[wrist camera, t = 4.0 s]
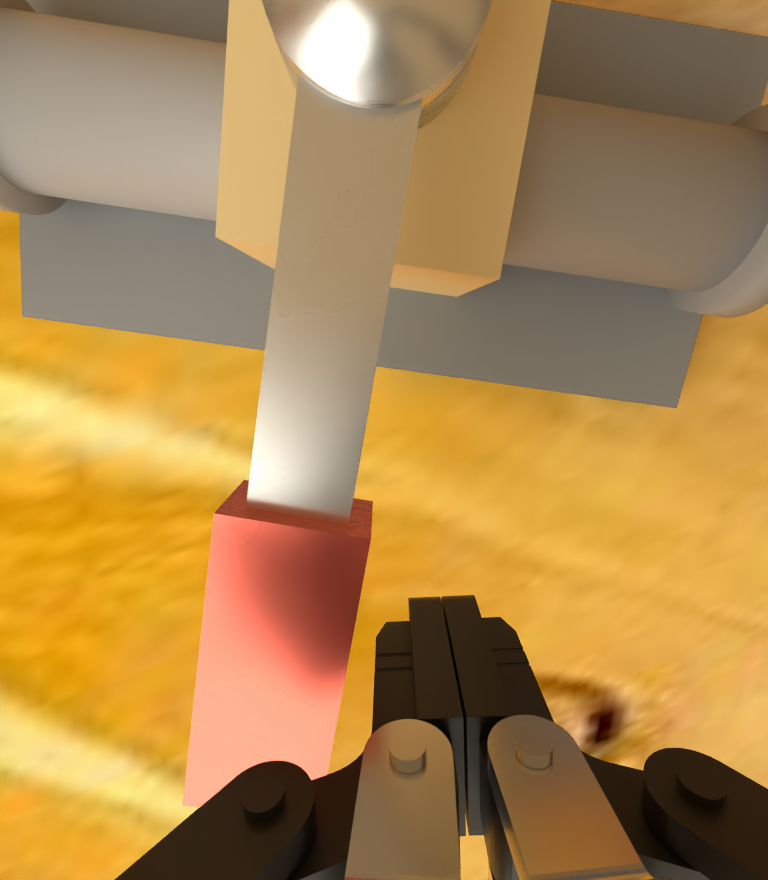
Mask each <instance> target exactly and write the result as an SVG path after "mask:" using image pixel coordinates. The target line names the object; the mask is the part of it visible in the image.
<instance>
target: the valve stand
mask: <svg viewBox="0 0 768 880" xmlns="http://www.w3.org/2000/svg"><path fill="white" fill-rule="evenodd" d="M767 80H768V37H764V36H758V35H752V34H746V33H740V32H734V31H729V30H723V29H717V28H711V27H705V26H699V25H693V24H687V23H681V22H675V21H670V20H664V19H658V18H652V17H646V16H640V15H634V14H628V13H622V12H616V11H611V10H605V9H599V8H593V7H587V6H581V5H575V4H569V3H563V2H557V1H552V0H492V2H491V6H490V9H489V12H488V15H487V18H486V21H485V24H484V27H483V30H482V33H481V36H480V39H479V42H478V45H477V48H476V51H475V54H474V57H473V60H472V63H471V65H470V68H469V71H468V73H467V76H466V78H465V80H464V82H463V84H462V86H461V88H460V90H459V91H458V93H457V94H456V96H455V97H454V98H453V100H452V101H451V102H450V104H449V105H448V106H447V107H446V108H445V109H444V110H443V111H442V112H441V113H440V114H439V115H438V116H437V117H436V118H434V119H433V120H432V121H431V122H429V123H428V124H426V125H425V126H423V127H421V128H419V129H417V133H416V139H415V145H414V151H413V157H412V162H411V168H410V174H409V180H408V185H407V191H406V197H405V203H404V208H403V214H402V220H401V226H400V232H399V237H398V243H397V249H396V255H395V260H394V266H393V272H392V278H391V283H390V289H389V295H388V301H387V306H386V312H385V318H384V324H383V330H382V335H381V341H380V347H379V353H378V358H377V364H376V366H379V367H386V368H393V369H400V370H407V371H415V372H422V373H429V374H436V375H443V376H450V377H457V378H464V379H472V380H479V381H486V382H493V383H500V384H507V385H514V386H521V387H529V388H536V389H543V390H550V391H557V392H564V393H571V394H578V395H586V396H593V397H600V398H607V399H614V400H621V401H628V402H635V403H643V404H650V405H657V406H664V407H671V408H677V405H678V401H679V398H680V394H681V391H682V387H683V383H684V380H685V376H686V373H687V369H688V365H689V362H690V358H691V354H692V351H693V347H694V344H695V340H696V336H697V333H698V329H699V326H700V322H701V318H702V315H703V314H706V315H713V316H720V317H738V316H742V315H745V314H748V313H751V312H753V311H755V310H757V309H759V308H761V307H762V306H764V305H766V304H767V303H768V105H765V106H761V107H760V105H761V101H762V98H763V94H764V90H765V87H766V83H767ZM296 92H297V90H296V88H295V86H294V84H293V83H292V81H291V79H290V76H289V74H288V72H287V69H286V67H285V64H284V62H283V59H282V56H281V53H280V51H279V48H278V45H277V43H276V40H275V37H274V34H273V32H272V29H271V26H270V23H269V21H268V18H267V15H266V13H265V9H264V6H263V2H262V0H0V210H2V211H9V212H16V213H19V214H20V254H21V293H22V316H23V317H30V318H37V319H44V320H51V321H58V322H66V323H73V324H80V325H87V326H94V327H101V328H108V329H115V330H123V331H130V332H137V333H144V334H151V335H158V336H165V337H172V338H180V339H187V340H194V341H201V342H208V343H215V344H222V345H229V346H237V347H244V348H251V349H258V350H265V346H266V338H267V330H268V322H269V313H270V305H271V297H272V289H273V281H274V273H275V264H276V256H277V248H278V240H279V232H280V223H281V215H282V207H283V199H284V191H285V182H286V174H287V166H288V158H289V150H290V142H291V133H292V125H293V117H294V109H295V101H296Z"/></svg>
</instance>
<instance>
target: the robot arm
mask: <svg viewBox="0 0 768 880" xmlns="http://www.w3.org/2000/svg"><path fill="white" fill-rule="evenodd" d="M465 814H466V820H467V826H468V833H469V835H484V838H485V843H486V849H487V854H488V859H489V880H768V789H767V788H765V787H763V786H761V785H760V784H758V783H756V782H754V781H753V780H751V779H749V778H747V777H746V776H744V775H742V774H741V773H739V772H737V771H735V770H734V769H732V768H730V767H728V766H727V765H725V764H723V763H721V762H720V761H718V760H716V759H714V758H712V757H710V756H707V755H705V754H702V753H700V752H696V751H693V750H689V749H683V748H665V749H662V750H658V751H656V752H654V753H653V754H651V755H650V756H649V757H648V759H647V760H646V762H645V765H644V770H643V771H642V770H638V769H634V768H630V767H626V766H621V765H617V764H613V763H609V762H606V761H602V760H599V759H597V758H594V757H592V756H590V755H588V754H586V753H584V752H582V751H581V750H580V749H579V747H578V745H577V743H576V742H575V740H574V739H573V738H572V737H571V735H570V734H569V733H568V732H567V731H565V730H564V729H563V728H562V727H560V726H559V725H557V724H556V723H554V721H553V719H552V716H551V714H550V712H549V709H548V707H547V704H546V702H545V700H544V697H543V695H542V693H541V690H540V688H539V685H538V683H537V681H536V678H535V676H534V673H533V671H532V669H531V666H529V662H528V659H527V657H526V654H525V652H524V651H523V647H522V645H521V643H520V640H519V638H518V635H517V633H516V631H515V630H514V629H513V628H512V627H511V626H509V625H508V624H507V623H506V622H505V621H504V620H503V619H502V618H501V617H492V618H481V615H480V611H479V608H478V605H477V602H476V599H475V596H474V595H464V596H442V598H440V597H421V598H409V621H400V622H386V623H385V625H384V626H383V628H382V629H381V631H380V632H379V634H378V635H377V637H376V657H375V677H374V700H373V724H372V734H371V737H370V738H369V739H368V741H367V743H366V745H365V748H364V751H363V753H362V754H361V755H360V756H359V757H358V758H357V759H356V760H355V761H353V762H352V763H351V764H349V765H348V766H346V767H344V768H343V769H341V770H338V771H336V772H334V773H331V774H328V775H325V776H322V777H319V778H316V779H313V780H311V779H310V777H309V776H308V774H307V773H306V772H305V771H304V770H303V769H302V768H301V767H299V766H298V765H296V764H294V763H291V762H287V761H279V760H274V761H267V762H263V763H259V764H257V765H254V766H252V767H250V768H248V769H246V770H245V771H243V772H241V773H240V774H239V775H237V776H236V777H235V778H234V779H233V780H231V781H230V782H229V783H228V784H227V785H225V786H224V787H223V788H222V789H221V790H220V791H218V792H217V793H216V794H215V795H214V796H213V797H211V798H210V799H209V800H208V801H207V802H206V803H204V804H203V805H202V806H201V807H200V808H198V809H197V810H196V811H195V812H194V813H193V814H191V815H190V816H189V817H188V818H187V819H186V820H184V821H183V822H182V823H181V824H180V825H178V826H177V827H176V828H175V829H174V830H173V831H171V832H170V833H169V834H168V835H167V836H166V837H164V838H163V839H162V840H161V841H160V842H159V843H157V844H156V845H155V846H154V847H153V848H151V849H150V850H149V851H148V852H147V853H146V854H144V855H143V856H142V857H141V858H140V859H139V860H137V861H136V862H135V863H134V864H133V865H132V866H130V867H129V868H128V869H127V870H126V871H124V872H123V873H122V874H121V875H120V876H119V877H117V878H116V879H115V880H461V877H460V872H461V871H460V836H466V824H465Z"/></svg>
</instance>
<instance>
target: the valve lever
mask: <svg viewBox="0 0 768 880" xmlns="http://www.w3.org/2000/svg"><path fill="white" fill-rule="evenodd" d="M262 2H263V6H264V9H265V13H266V15H267V18H268V21H269V23H270V26H271V29H272V32H273V34H274V37H275V40H276V43H277V45H278V48H279V51H280V53H281V56H282V59H283V62H284V64H285V67H286V69H287V72H288V74H289V76H290V79H291V81H292V83H293V84H294V86H295V88H296V90H297V92H296V101H295V109H294V117H293V125H292V133H291V142H290V150H289V158H288V166H287V174H286V182H285V191H284V199H283V207H282V215H281V223H280V232H279V240H278V248H277V256H276V264H275V273H274V281H273V289H272V297H271V305H270V313H269V322H268V330H267V338H266V346H265V354H264V363H263V371H262V379H261V387H260V395H259V404H258V412H257V420H256V428H255V436H254V445H253V453H252V461H251V469H250V477H249V481H247V480H244V481H243V482H242V483H241V484H240V485H239V486H238V487H237V489H236V490H235V491H234V492H233V493H232V494H231V495H230V496H229V497H228V498H227V500H226V501H225V502H224V503H223V504H222V505H221V506H220V507H219V508H218V510H217V511H216V512H215V513H214V517H213V527H212V536H211V545H210V555H209V564H208V573H207V583H206V592H205V601H204V611H203V620H202V629H201V639H200V648H199V657H198V667H197V676H196V686H195V695H194V704H193V714H192V723H191V732H190V742H189V751H188V760H187V770H186V779H185V788H184V798H183V806H190V807H198V808H200V807H201V806H202V805H203V804H204V803H206V802H207V801H208V800H209V799H210V798H211V797H213V796H214V795H215V794H216V793H217V792H218V791H220V790H221V789H222V788H223V787H224V786H225V785H227V784H228V783H229V782H230V781H231V780H233V779H234V778H235V777H236V776H237V775H239V774H240V773H241V772H243V771H245V770H246V769H248V768H250V767H252V766H254V765H257V764H259V763H263V762H267V761H274V760H279V761H287V762H291V763H294V764H296V765H298V766H299V767H301V768H302V769H303V770H304V771H305V772H306V773H307V774H308V776H309V777H310V779H311V780H313V779H316V778H319V777H322V776H325V775H327V772H328V767H329V761H330V756H331V751H332V745H333V740H334V734H335V729H336V724H337V718H338V713H339V707H340V702H341V697H342V691H343V686H344V681H345V675H346V670H347V664H348V659H349V654H350V648H351V643H352V637H353V632H354V627H355V621H356V616H357V610H358V605H359V600H360V594H361V589H362V583H363V578H364V573H365V567H366V562H367V557H368V551H369V546H370V540H371V524H372V505H373V501H367V500H361V499H355V498H353V497H354V491H355V485H356V479H357V474H358V468H359V462H360V456H361V451H362V445H363V439H364V433H365V428H366V422H367V416H368V410H369V405H370V399H371V393H372V387H373V381H374V376H375V370H376V364H377V358H378V353H379V347H380V341H381V335H382V330H383V324H384V318H385V312H386V306H387V301H388V295H389V289H390V283H391V278H392V272H393V266H394V260H395V255H396V249H397V243H398V237H399V232H400V226H401V220H402V214H403V208H404V203H405V197H406V191H407V185H408V180H409V174H410V168H411V162H412V157H413V151H414V145H415V139H416V133H417V129H419V128H421V127H423V126H425V125H426V124H428V123H429V122H431V121H432V120H433V119H434V118H436V117H437V116H438V115H439V114H440V113H441V112H442V111H443V110H444V109H445V108H446V107H447V106H448V105H449V104H450V102H451V101H452V100H453V98H454V97H455V96H456V94H457V93H458V91H459V90H460V88H461V86H462V84H463V82H464V80H465V78H466V76H467V73H468V71H469V68H470V65H471V63H472V60H473V57H474V54H475V51H476V48H477V45H478V42H479V39H480V36H481V33H482V30H483V27H484V24H485V21H486V18H487V15H488V12H489V9H490V6H491V2H492V0H262Z"/></svg>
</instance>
